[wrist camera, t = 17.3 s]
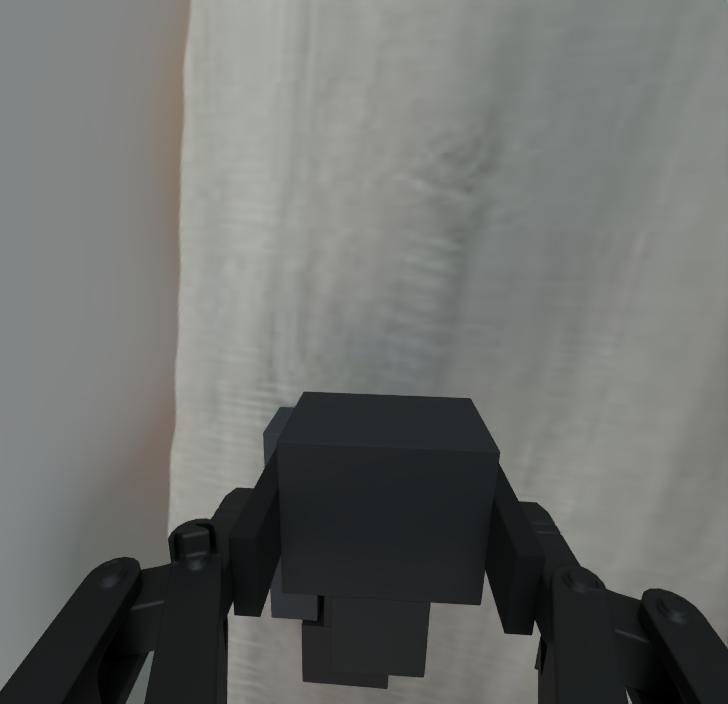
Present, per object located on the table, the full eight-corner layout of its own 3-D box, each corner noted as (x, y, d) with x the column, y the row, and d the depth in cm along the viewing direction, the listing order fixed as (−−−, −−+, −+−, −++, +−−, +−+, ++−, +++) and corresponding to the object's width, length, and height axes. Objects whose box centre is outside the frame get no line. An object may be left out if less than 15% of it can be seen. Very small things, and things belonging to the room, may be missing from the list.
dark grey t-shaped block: (471, 397, 16) (501, 451, 12) (452, 583, 19) (471, 682, 15) (303, 391, 17) (275, 441, 12) (306, 574, 19) (284, 668, 15)
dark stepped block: (392, 552, 34) (393, 596, 30) (387, 637, 37) (387, 689, 32) (311, 546, 34) (301, 589, 30) (312, 631, 37) (302, 681, 33)
